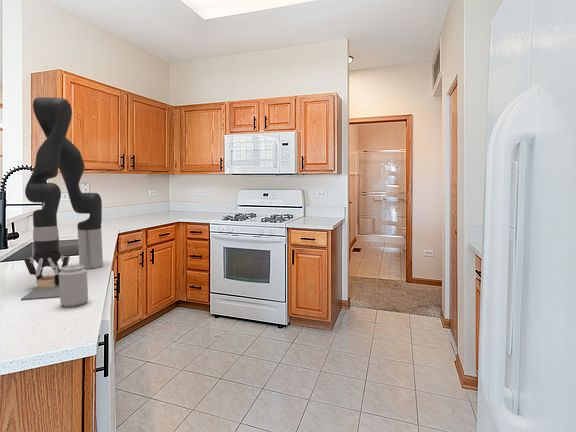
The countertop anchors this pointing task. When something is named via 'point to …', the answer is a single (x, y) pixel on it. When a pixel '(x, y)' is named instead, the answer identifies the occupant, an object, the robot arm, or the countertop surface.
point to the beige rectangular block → (46, 282)
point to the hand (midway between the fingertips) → (49, 284)
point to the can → (73, 285)
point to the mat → (43, 293)
